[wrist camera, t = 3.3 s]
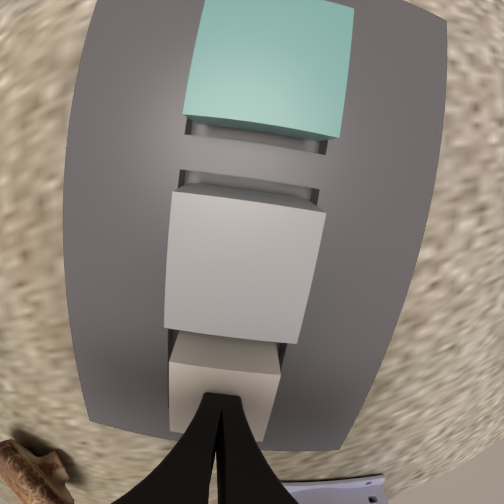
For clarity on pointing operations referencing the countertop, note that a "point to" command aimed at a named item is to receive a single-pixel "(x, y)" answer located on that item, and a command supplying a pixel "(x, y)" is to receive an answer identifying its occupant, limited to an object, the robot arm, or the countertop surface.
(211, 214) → the grey key
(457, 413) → the countertop surface
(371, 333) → the keypad
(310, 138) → the teal key
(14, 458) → the mushroom
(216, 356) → the ivory key
